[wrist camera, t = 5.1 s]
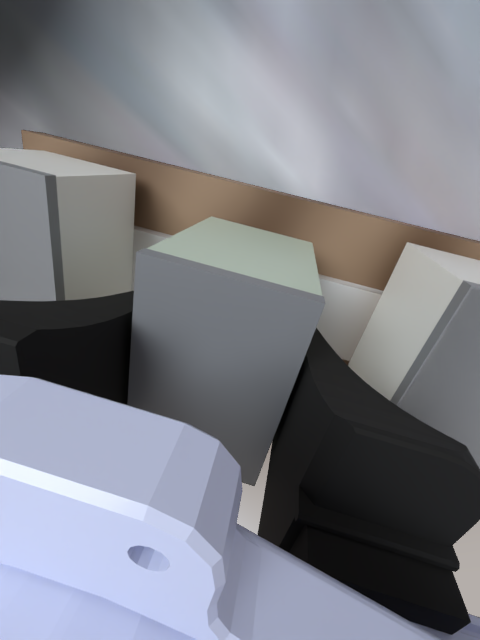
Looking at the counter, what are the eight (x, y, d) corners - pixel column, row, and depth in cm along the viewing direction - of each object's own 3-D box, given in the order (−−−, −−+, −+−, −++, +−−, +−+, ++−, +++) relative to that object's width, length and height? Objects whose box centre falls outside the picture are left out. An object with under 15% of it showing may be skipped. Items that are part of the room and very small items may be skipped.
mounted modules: (515, 268, 11) (652, 332, 7) (411, 419, 15) (457, 522, 11) (43, 148, 12) (-99, 139, 8) (58, 318, 16) (-32, 373, 12)
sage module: (312, 242, 11) (325, 303, 6) (271, 368, 14) (254, 486, 9) (210, 215, 12) (135, 252, 6) (189, 344, 14) (124, 445, 9)
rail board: (531, 254, 13) (563, 266, 11) (423, 408, 17) (436, 434, 15) (42, 132, 14) (9, 128, 12) (57, 305, 18) (34, 318, 17)
